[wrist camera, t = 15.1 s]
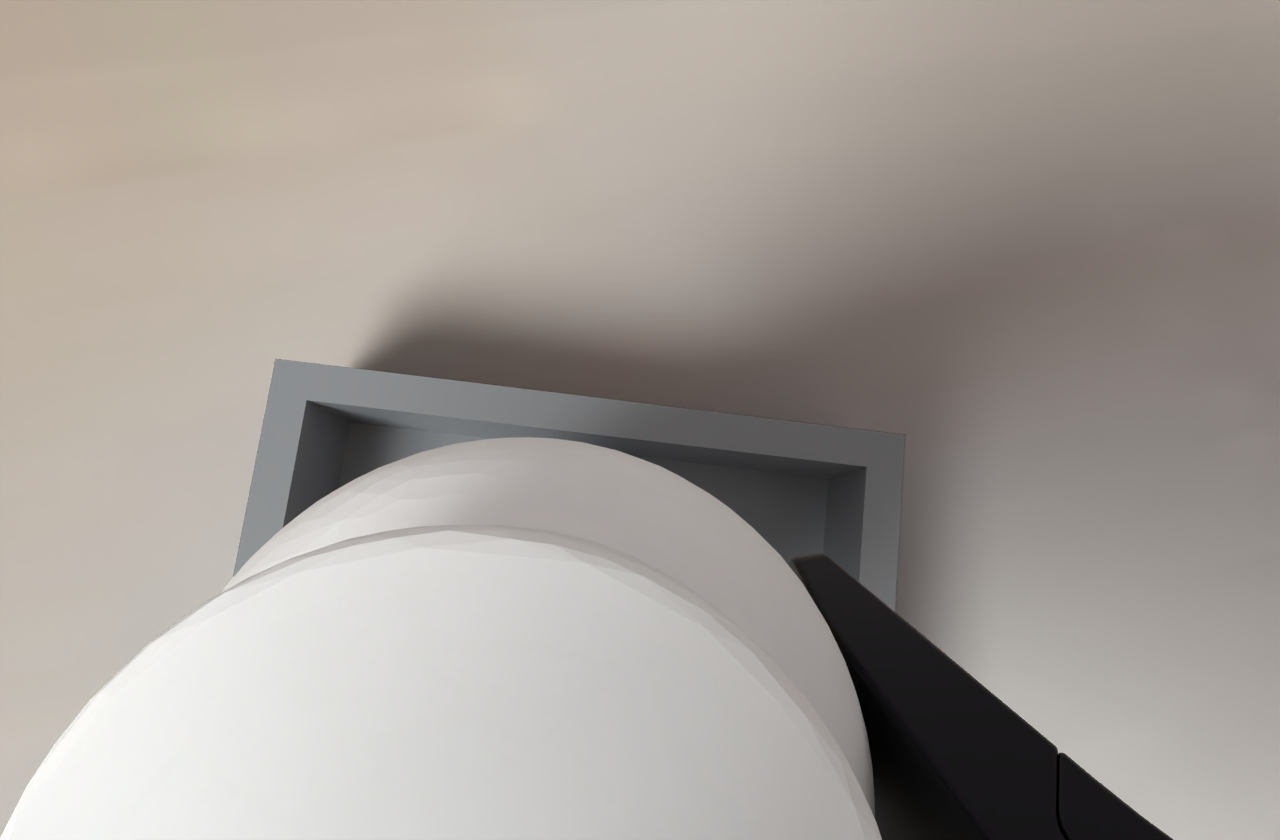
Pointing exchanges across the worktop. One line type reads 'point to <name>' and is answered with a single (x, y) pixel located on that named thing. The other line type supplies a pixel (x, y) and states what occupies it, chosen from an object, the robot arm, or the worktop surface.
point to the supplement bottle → (481, 675)
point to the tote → (663, 435)
